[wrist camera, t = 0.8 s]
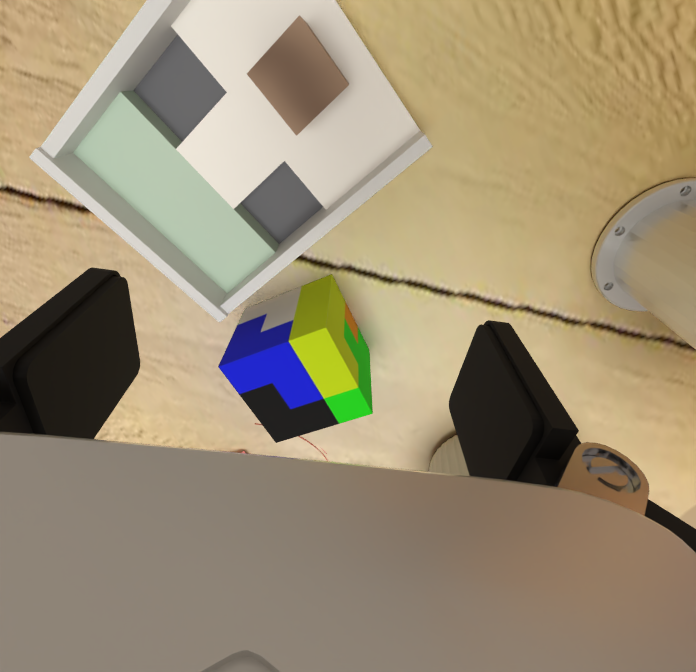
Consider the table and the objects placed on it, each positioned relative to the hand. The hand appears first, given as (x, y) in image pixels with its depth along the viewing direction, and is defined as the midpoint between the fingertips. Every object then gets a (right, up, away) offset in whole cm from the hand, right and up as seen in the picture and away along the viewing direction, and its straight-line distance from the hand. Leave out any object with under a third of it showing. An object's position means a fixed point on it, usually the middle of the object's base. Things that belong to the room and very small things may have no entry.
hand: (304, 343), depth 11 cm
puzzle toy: (-3, +1, +33) cm, 33 cm away
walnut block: (-2, +19, +18) cm, 26 cm away
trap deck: (-7, +16, +23) cm, 29 cm away
